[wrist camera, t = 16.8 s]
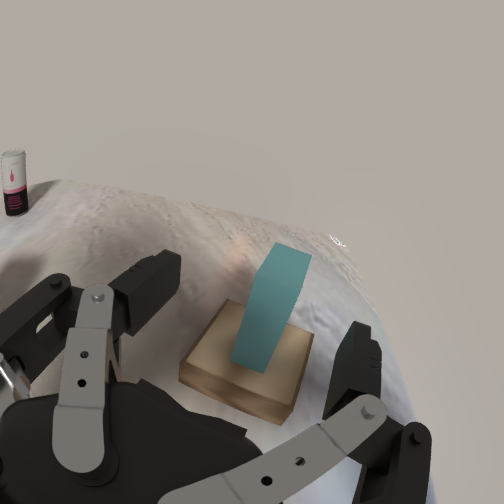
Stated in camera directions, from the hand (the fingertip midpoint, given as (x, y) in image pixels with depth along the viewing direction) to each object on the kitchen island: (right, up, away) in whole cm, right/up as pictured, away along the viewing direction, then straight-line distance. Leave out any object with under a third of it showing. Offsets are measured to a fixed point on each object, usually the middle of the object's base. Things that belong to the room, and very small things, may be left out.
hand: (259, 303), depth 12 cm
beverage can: (-57, +12, +38) cm, 70 cm away
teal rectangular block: (0, -9, +21) cm, 22 cm away
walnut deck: (-1, -13, +23) cm, 26 cm away
